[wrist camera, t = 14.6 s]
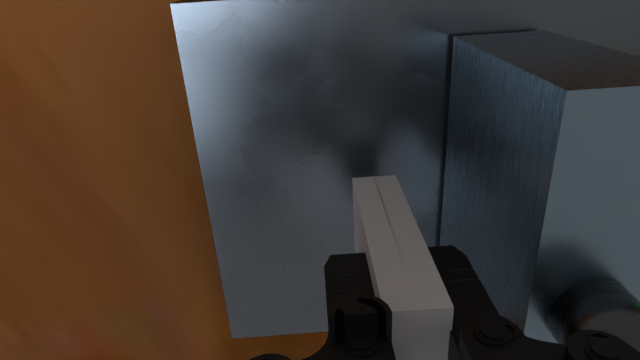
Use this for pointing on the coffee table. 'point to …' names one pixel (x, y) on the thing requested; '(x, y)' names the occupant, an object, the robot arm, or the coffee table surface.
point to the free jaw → (547, 180)
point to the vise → (333, 125)
